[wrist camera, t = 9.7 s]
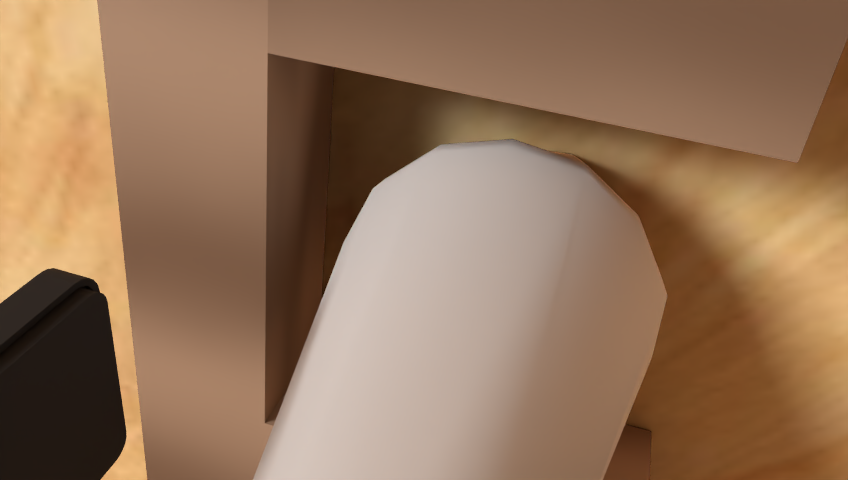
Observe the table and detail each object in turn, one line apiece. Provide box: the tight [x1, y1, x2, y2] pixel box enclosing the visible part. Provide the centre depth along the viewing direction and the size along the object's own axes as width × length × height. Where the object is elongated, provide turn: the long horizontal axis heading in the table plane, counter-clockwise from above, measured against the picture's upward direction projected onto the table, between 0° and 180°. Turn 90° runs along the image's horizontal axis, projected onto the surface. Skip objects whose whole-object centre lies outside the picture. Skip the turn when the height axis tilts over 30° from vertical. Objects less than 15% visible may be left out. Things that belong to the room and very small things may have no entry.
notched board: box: [97, 0, 848, 480], centre depth 15 cm, size 18×11×3 cm, turn 174°
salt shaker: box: [253, 139, 667, 480], centre depth 10 cm, size 6×6×13 cm
